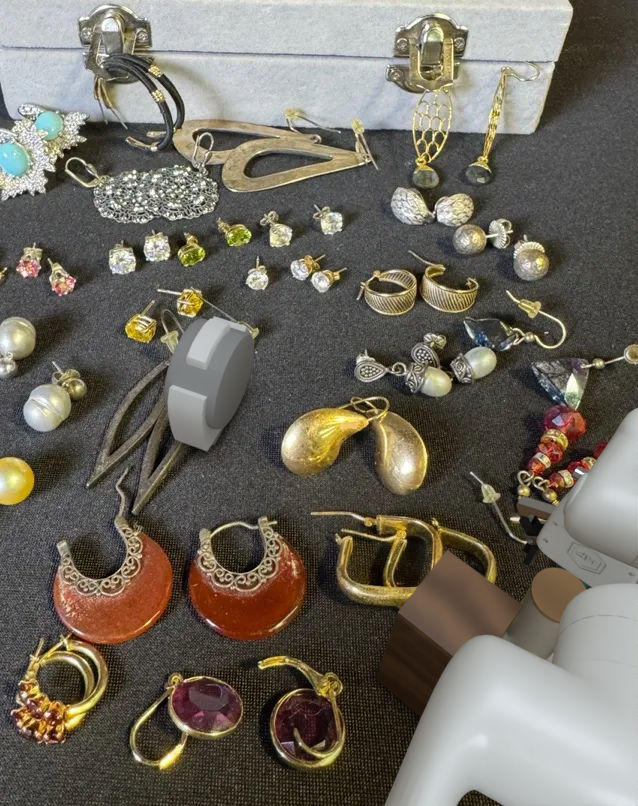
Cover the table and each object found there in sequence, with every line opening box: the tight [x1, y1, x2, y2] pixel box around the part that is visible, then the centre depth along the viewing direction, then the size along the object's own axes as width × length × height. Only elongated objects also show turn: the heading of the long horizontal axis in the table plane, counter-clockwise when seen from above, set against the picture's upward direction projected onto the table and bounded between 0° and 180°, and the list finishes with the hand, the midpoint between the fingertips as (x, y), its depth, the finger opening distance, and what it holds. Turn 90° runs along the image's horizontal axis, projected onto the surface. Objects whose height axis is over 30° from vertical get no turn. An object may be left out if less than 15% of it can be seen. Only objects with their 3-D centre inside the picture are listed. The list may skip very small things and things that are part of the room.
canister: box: [502, 567, 586, 661], centre depth 100 cm, size 7×7×16 cm
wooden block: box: [375, 549, 523, 718], centre depth 98 cm, size 10×10×22 cm
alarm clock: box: [163, 315, 255, 452], centre depth 126 cm, size 18×8×20 cm, turn 157°
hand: (569, 582), depth 91 cm, fingers open, 9 cm apart
